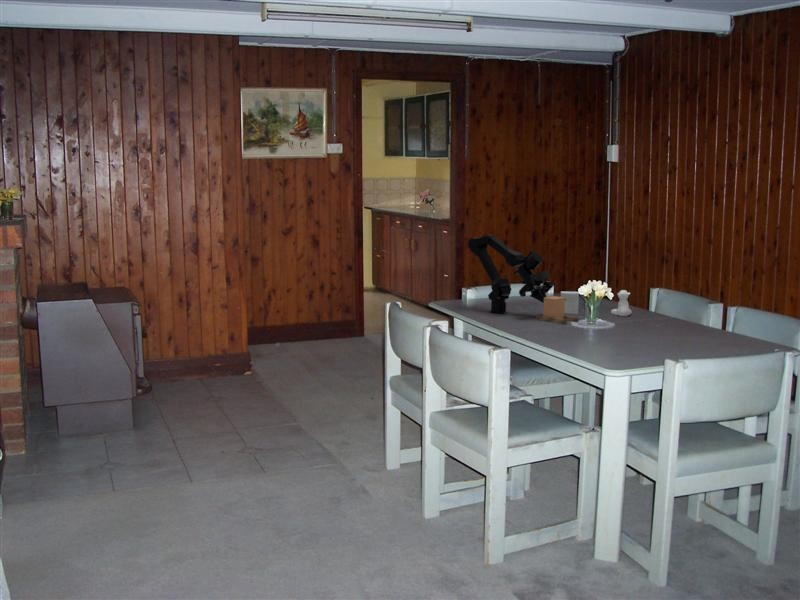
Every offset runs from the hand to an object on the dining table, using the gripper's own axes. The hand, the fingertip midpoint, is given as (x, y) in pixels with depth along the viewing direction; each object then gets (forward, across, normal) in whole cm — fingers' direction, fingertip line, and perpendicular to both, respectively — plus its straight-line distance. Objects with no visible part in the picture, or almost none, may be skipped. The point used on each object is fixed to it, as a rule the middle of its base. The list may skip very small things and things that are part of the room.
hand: (546, 303), depth 387 cm
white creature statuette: (+16, +39, -4) cm, 43 cm away
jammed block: (+8, 0, +2) cm, 8 cm away
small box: (+3, +21, +8) cm, 23 cm away
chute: (+10, 0, +1) cm, 10 cm away
